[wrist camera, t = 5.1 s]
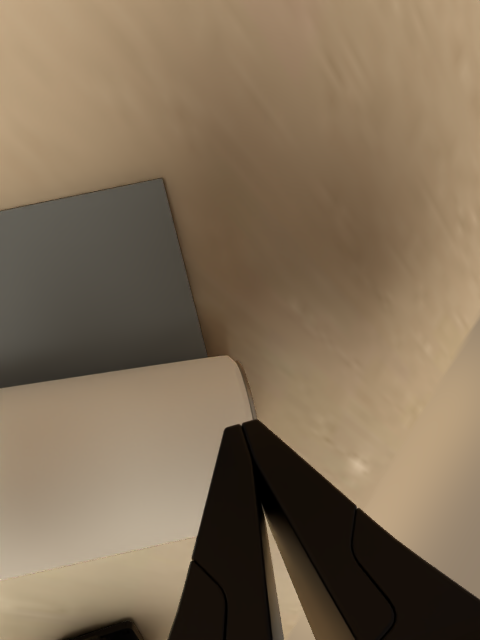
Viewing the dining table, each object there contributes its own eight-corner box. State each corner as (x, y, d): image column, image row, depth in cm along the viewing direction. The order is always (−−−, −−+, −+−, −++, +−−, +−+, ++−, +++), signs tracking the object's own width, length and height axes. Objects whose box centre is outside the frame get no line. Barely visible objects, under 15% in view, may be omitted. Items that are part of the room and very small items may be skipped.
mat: (220, 405, 18) (221, 410, 18) (-71, 485, 17) (-75, 493, 16) (162, 177, 13) (162, 178, 13) (-258, 263, 12) (-271, 267, 11)
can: (274, 462, 10) (-227, 562, 8) (266, 549, 14) (-72, 629, 12) (232, 321, 15) (-88, 364, 13) (234, 415, 19) (-10, 458, 17)
